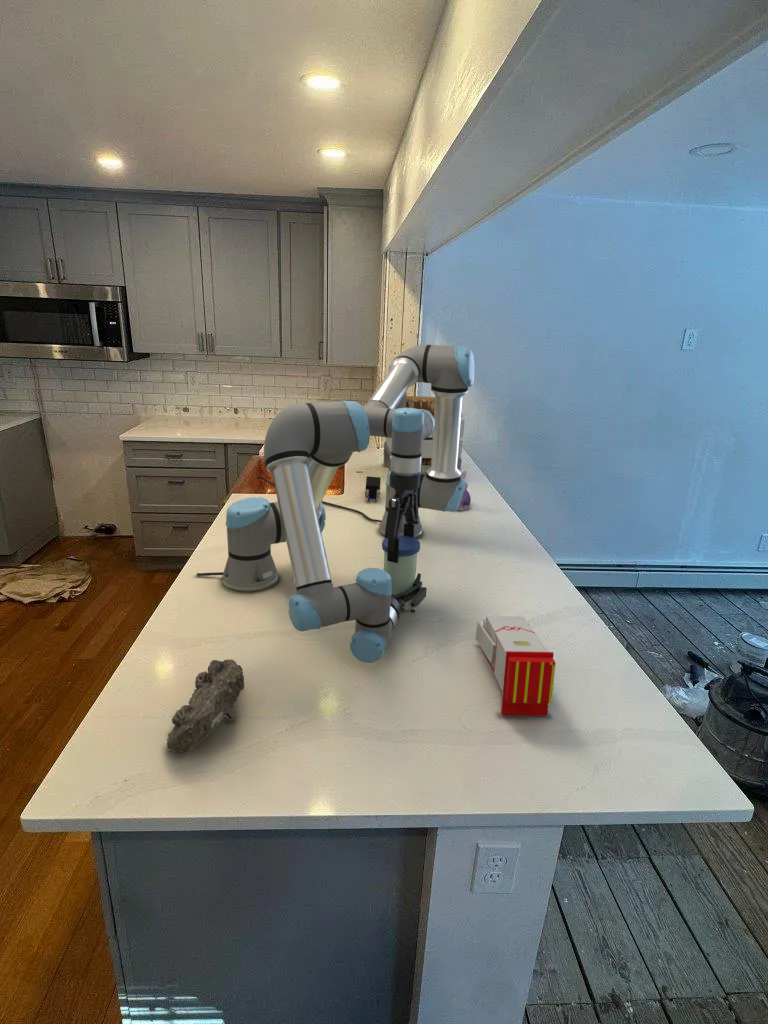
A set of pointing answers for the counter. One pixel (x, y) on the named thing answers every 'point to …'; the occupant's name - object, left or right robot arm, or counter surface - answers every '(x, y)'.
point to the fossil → (206, 705)
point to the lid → (404, 545)
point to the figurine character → (372, 488)
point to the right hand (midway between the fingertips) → (400, 554)
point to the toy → (518, 664)
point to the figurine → (464, 496)
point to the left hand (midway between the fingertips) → (402, 575)
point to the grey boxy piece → (428, 405)
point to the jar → (401, 573)
